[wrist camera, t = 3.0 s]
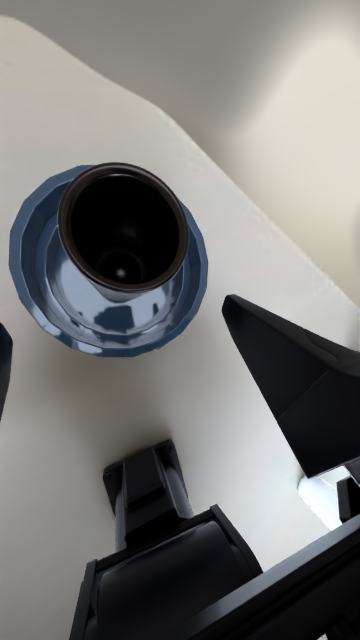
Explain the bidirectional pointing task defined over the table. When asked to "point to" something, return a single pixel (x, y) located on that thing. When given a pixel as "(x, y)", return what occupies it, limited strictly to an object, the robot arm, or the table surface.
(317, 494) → the milkshake
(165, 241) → the grey hollow cylinder
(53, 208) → the basin
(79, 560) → the table surface
